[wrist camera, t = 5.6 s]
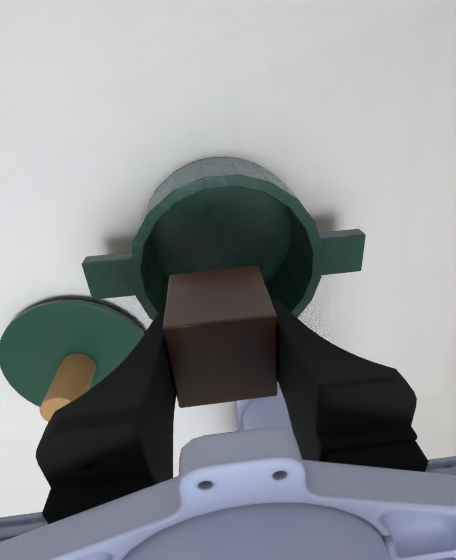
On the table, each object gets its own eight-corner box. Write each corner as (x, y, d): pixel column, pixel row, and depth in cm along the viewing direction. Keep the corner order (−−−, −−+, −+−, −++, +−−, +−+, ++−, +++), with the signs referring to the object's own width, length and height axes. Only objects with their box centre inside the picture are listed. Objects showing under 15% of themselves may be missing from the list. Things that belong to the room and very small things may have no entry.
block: (261, 335, 18) (278, 396, 14) (181, 345, 17) (179, 409, 14) (258, 264, 16) (277, 314, 12) (168, 274, 16) (162, 328, 12)
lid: (166, 398, 31) (161, 456, 26) (34, 414, 31) (4, 476, 26) (141, 286, 26) (129, 333, 21) (-21, 304, 25) (-72, 355, 20)
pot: (330, 291, 27) (358, 333, 23) (121, 314, 27) (106, 362, 22) (341, 145, 22) (382, 160, 18) (83, 169, 22) (52, 191, 17)
